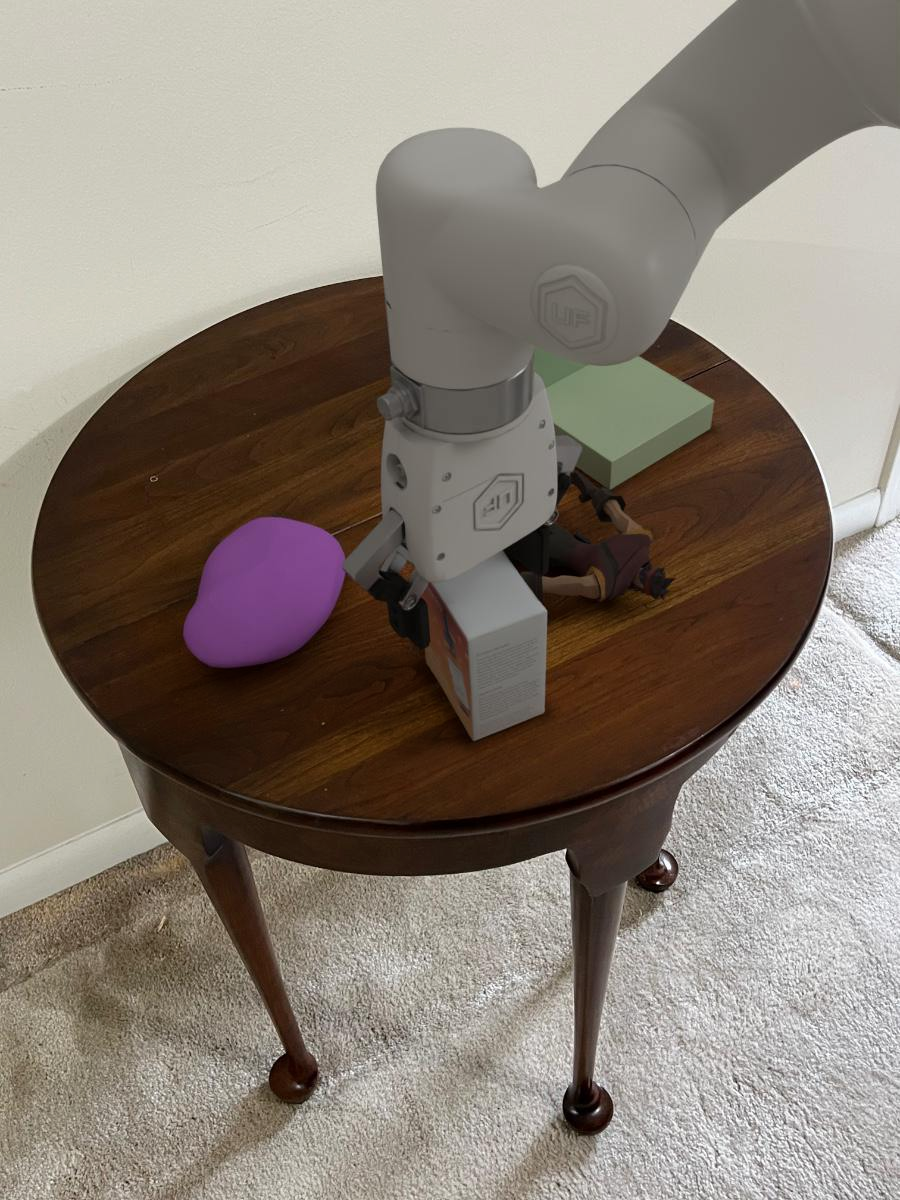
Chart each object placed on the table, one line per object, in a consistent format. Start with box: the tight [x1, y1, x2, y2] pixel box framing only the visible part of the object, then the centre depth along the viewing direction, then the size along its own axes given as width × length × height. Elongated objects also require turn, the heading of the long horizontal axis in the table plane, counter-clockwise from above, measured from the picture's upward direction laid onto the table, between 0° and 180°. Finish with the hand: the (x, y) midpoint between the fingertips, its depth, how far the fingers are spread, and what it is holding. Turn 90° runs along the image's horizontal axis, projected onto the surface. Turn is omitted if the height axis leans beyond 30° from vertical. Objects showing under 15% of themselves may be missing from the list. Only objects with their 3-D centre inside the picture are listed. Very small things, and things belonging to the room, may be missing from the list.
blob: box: [182, 516, 346, 669], centre depth 82 cm, size 14×11×5 cm
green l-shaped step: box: [534, 346, 715, 491], centre depth 95 cm, size 16×12×10 cm
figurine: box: [503, 468, 676, 604], centre depth 85 cm, size 15×4×20 cm
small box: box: [421, 550, 548, 742], centre depth 74 cm, size 8×6×10 cm
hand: (471, 598), depth 72 cm, fingers open, 9 cm apart
